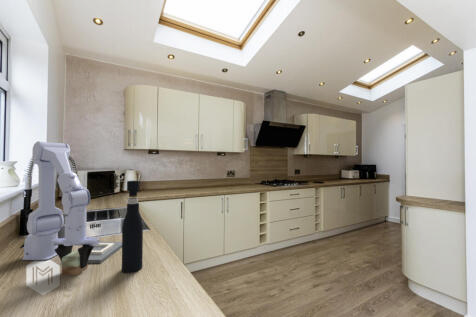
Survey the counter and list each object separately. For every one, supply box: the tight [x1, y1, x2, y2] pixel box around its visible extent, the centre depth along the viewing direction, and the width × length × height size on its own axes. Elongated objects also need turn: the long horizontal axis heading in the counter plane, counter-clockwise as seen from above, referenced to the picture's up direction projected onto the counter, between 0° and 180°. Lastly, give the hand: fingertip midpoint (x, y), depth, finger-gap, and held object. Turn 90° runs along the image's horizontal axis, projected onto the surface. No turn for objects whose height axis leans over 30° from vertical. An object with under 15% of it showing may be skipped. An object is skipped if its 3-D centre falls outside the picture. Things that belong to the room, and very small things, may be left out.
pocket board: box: [76, 241, 122, 264], centre depth 89 cm, size 14×18×2 cm
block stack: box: [61, 251, 89, 276], centre depth 74 cm, size 5×5×6 cm
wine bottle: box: [121, 180, 144, 274], centre depth 76 cm, size 6×6×30 cm
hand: (75, 267), depth 74 cm, fingers closed on block stack, 5 cm apart
